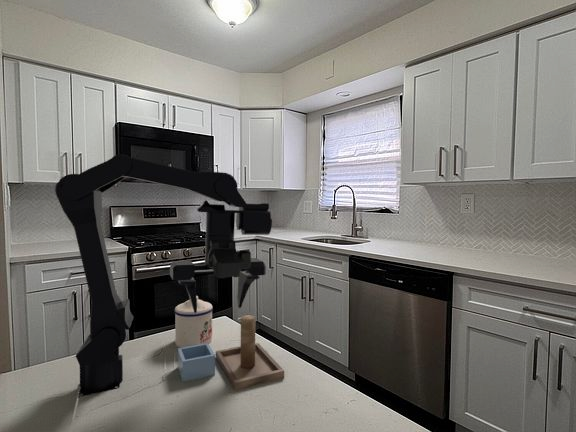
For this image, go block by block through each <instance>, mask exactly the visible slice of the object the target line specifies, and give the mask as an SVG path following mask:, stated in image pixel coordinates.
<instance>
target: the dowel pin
mask: <svg viewBox="0 0 576 432" xmlns="http://www.w3.org/2000/svg"><path fill="white" fill-rule="evenodd" d="M255 343H256V316H255V315H252V314H246V315H242V316H241V317H240V346H241V367H242V368H245V369H250V368H253V367H254V366H255Z"/></svg>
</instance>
